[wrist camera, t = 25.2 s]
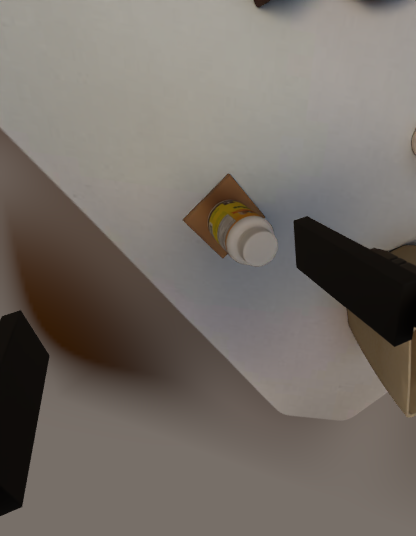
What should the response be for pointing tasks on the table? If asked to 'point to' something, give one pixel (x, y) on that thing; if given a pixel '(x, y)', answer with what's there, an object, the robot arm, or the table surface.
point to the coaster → (200, 213)
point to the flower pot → (391, 353)
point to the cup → (414, 142)
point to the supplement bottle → (242, 233)
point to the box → (260, 2)
